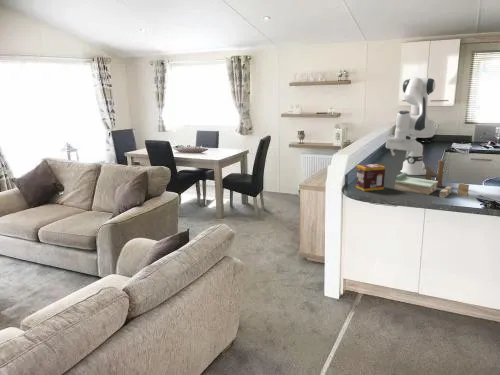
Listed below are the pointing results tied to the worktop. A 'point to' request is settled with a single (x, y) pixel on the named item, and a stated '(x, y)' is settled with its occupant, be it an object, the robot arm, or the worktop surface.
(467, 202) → the worktop surface
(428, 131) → the robot arm
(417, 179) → the lid
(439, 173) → the brown wooden bracket
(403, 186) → the tan piece
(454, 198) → the worktop surface
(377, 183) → the supplement box
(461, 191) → the brown wood block
